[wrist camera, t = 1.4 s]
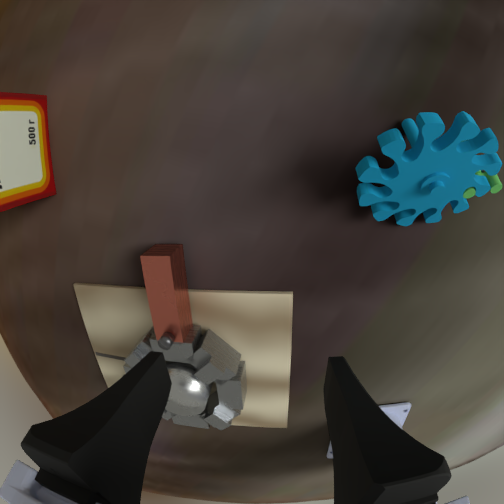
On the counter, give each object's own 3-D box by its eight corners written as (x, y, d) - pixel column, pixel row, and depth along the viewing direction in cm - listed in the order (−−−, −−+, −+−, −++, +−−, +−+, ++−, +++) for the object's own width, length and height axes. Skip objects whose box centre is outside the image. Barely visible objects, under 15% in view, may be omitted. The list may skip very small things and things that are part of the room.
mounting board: (286, 425, 28) (285, 449, 25) (117, 402, 30) (105, 421, 27) (292, 291, 23) (292, 314, 19) (75, 282, 25) (54, 298, 22)
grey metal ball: (218, 389, 26) (209, 419, 23) (171, 383, 27) (157, 411, 23) (213, 350, 25) (201, 380, 21) (161, 345, 26) (144, 373, 22)
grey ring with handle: (248, 412, 27) (243, 440, 23) (151, 400, 28) (139, 424, 25) (238, 244, 21) (228, 262, 18) (110, 244, 22) (85, 260, 19)
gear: (338, 231, 19) (397, 109, 10) (326, 163, 22) (360, 47, 13) (463, 236, 19) (540, 156, 10) (442, 177, 22) (497, 93, 13)
